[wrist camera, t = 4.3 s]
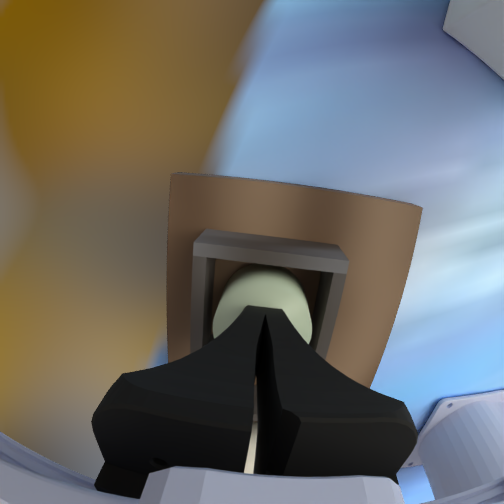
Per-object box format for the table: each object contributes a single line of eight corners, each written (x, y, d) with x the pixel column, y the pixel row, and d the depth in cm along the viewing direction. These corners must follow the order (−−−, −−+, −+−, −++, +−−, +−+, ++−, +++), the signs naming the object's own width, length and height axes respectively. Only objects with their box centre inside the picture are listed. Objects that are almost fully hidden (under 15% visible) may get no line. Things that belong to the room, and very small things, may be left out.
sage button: (312, 267, 13) (320, 292, 10) (298, 341, 14) (301, 374, 11) (225, 257, 13) (215, 279, 11) (220, 331, 14) (210, 363, 12)
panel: (411, 203, 13) (446, 217, 10) (305, 499, 21) (306, 529, 18) (179, 172, 14) (152, 177, 10) (184, 487, 21) (176, 516, 18)
